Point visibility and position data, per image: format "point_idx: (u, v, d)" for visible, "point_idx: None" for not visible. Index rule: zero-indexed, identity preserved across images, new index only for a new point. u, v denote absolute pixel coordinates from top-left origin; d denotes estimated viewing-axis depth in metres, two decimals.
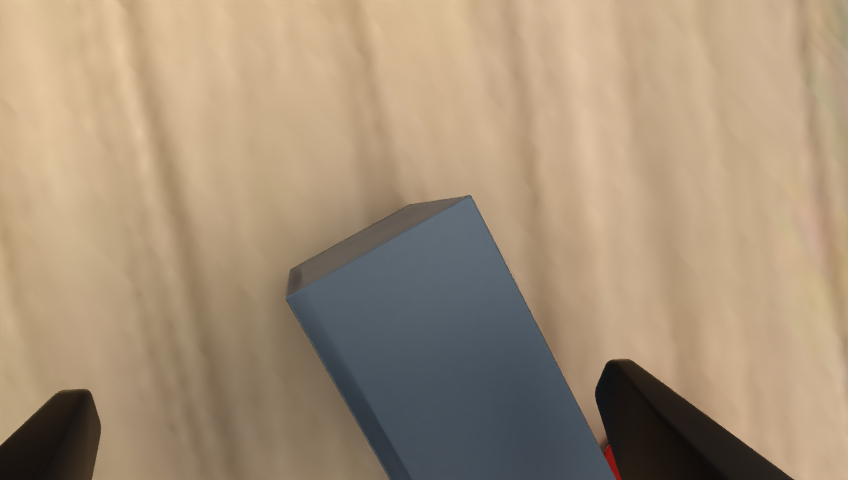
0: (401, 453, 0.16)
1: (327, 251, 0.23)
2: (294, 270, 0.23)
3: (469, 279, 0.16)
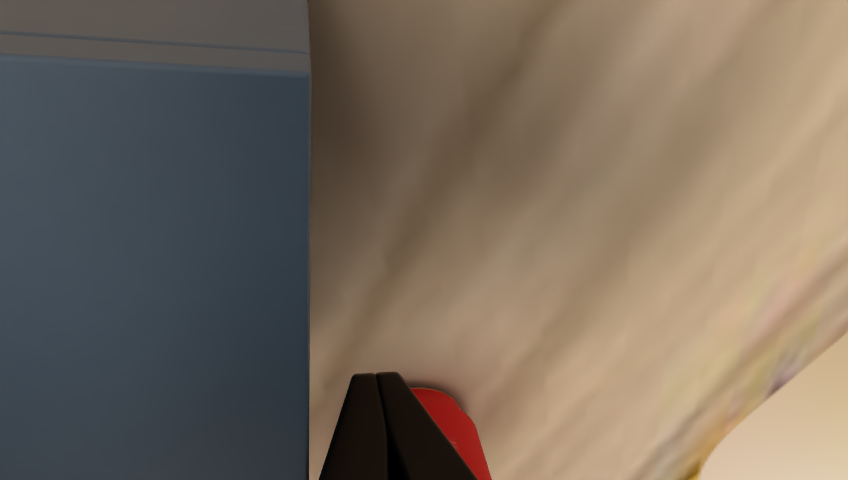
0: None
1: None
2: None
3: (192, 267, 0.06)
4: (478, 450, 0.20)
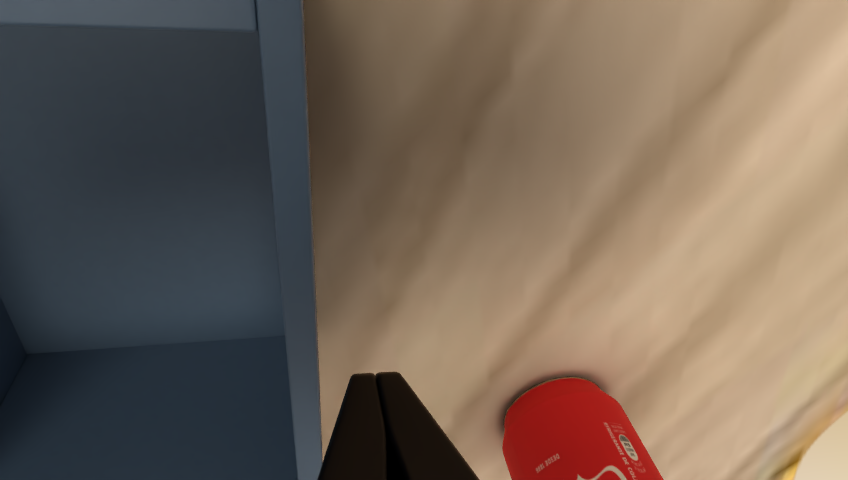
0: None
1: None
2: None
3: None
4: (637, 435, 0.21)
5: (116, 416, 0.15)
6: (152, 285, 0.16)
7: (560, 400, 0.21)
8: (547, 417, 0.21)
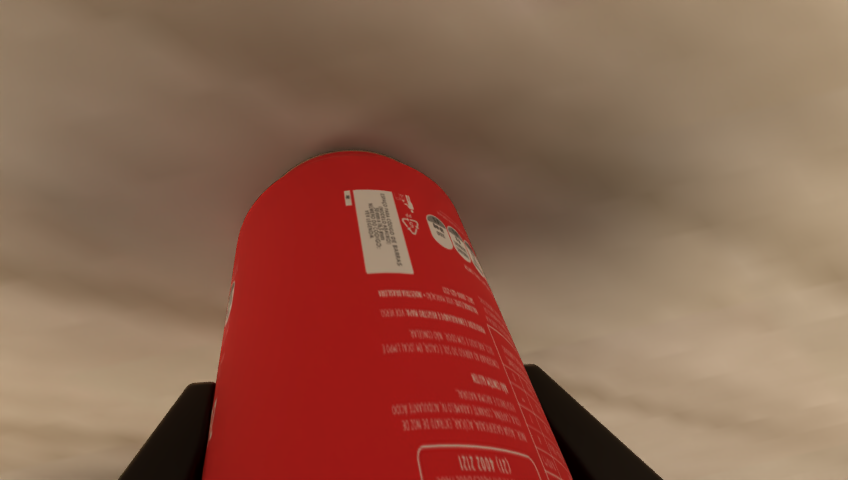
0: None
1: None
2: None
3: None
4: (277, 217, 0.10)
5: None
6: None
7: None
8: None
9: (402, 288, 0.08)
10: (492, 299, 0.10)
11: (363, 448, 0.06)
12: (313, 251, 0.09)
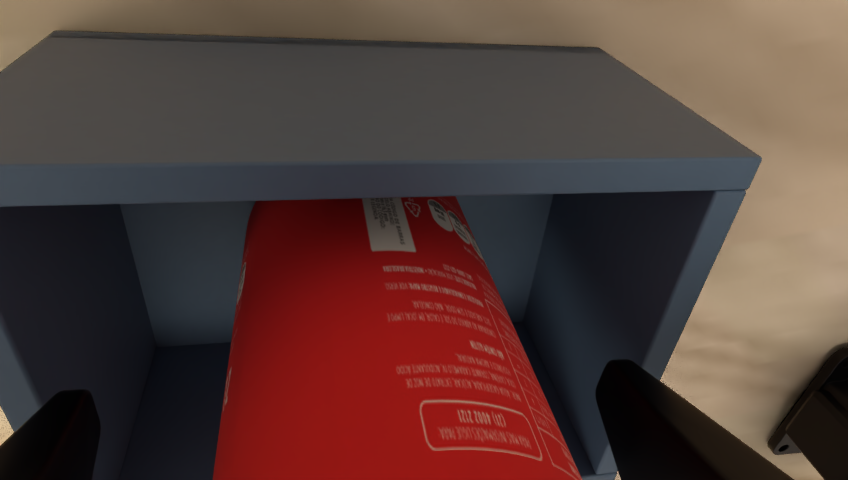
0: None
1: None
2: None
3: None
4: (285, 201, 0.11)
5: (578, 302, 0.14)
6: (467, 220, 0.15)
7: None
8: None
9: (405, 263, 0.09)
10: (490, 279, 0.10)
11: (371, 402, 0.07)
12: (320, 231, 0.10)
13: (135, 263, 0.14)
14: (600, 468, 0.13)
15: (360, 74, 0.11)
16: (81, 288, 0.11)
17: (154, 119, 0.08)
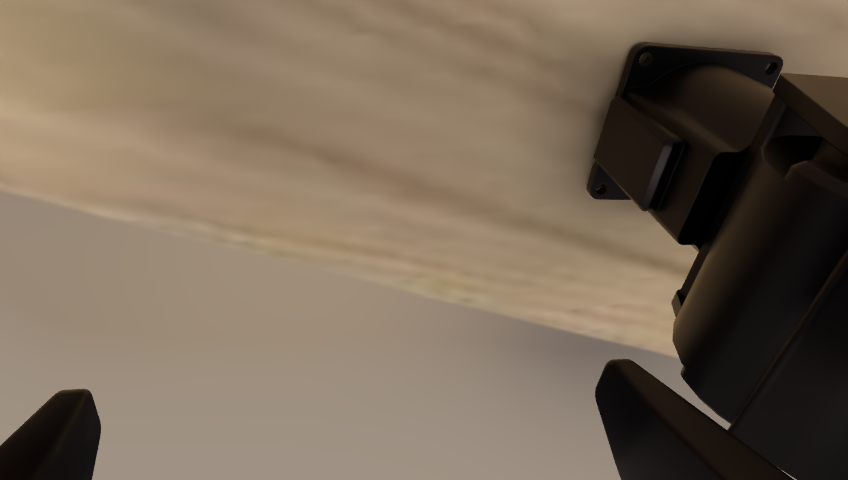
0: None
1: None
2: None
3: None
4: None
5: None
6: None
7: None
8: None
9: None
10: None
11: None
12: None
13: None
14: None
15: None
16: None
17: None
